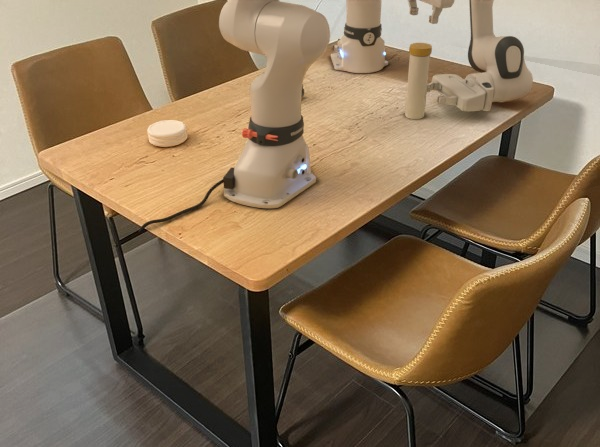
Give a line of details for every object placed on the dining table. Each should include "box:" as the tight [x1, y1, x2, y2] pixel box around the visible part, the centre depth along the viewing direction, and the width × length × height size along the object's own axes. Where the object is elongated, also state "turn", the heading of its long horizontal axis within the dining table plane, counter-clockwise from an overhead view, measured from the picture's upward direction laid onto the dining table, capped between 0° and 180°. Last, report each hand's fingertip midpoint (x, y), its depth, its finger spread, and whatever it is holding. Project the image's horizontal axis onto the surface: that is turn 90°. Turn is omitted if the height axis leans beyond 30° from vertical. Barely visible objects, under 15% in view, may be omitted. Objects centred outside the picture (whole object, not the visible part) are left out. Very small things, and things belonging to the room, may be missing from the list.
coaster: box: [146, 119, 188, 148], centre depth 160 cm, size 10×10×4 cm
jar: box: [404, 53, 431, 120], centre depth 168 cm, size 5×5×19 cm
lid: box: [408, 42, 433, 56], centre depth 163 cm, size 6×6×2 cm
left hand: (423, 18), depth 159 cm, fingers open, 8 cm apart
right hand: (430, 94), depth 171 cm, fingers open, 8 cm apart
